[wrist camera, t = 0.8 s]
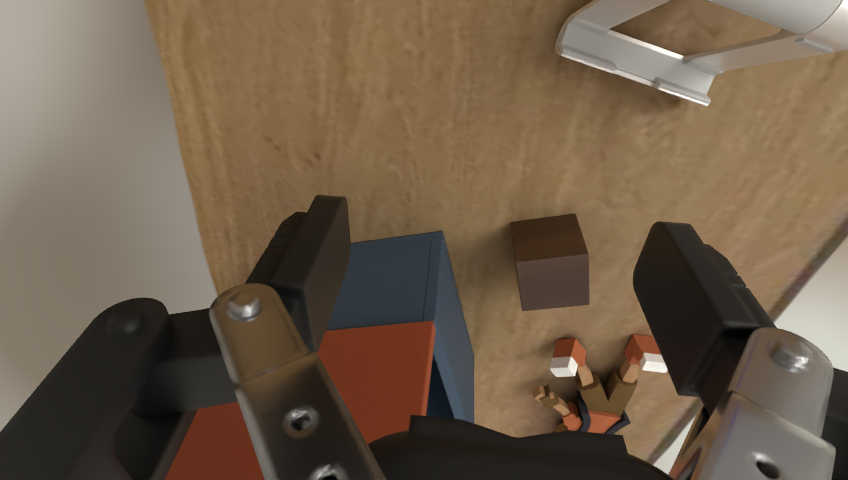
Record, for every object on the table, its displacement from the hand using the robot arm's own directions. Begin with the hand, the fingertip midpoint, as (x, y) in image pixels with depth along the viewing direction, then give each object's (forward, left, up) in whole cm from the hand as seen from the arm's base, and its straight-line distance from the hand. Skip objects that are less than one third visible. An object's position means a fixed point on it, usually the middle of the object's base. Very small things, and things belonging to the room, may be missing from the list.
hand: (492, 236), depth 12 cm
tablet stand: (-1, +10, -17) cm, 20 cm away
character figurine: (+33, +6, -17) cm, 38 cm away
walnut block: (+14, +3, -17) cm, 22 cm away
